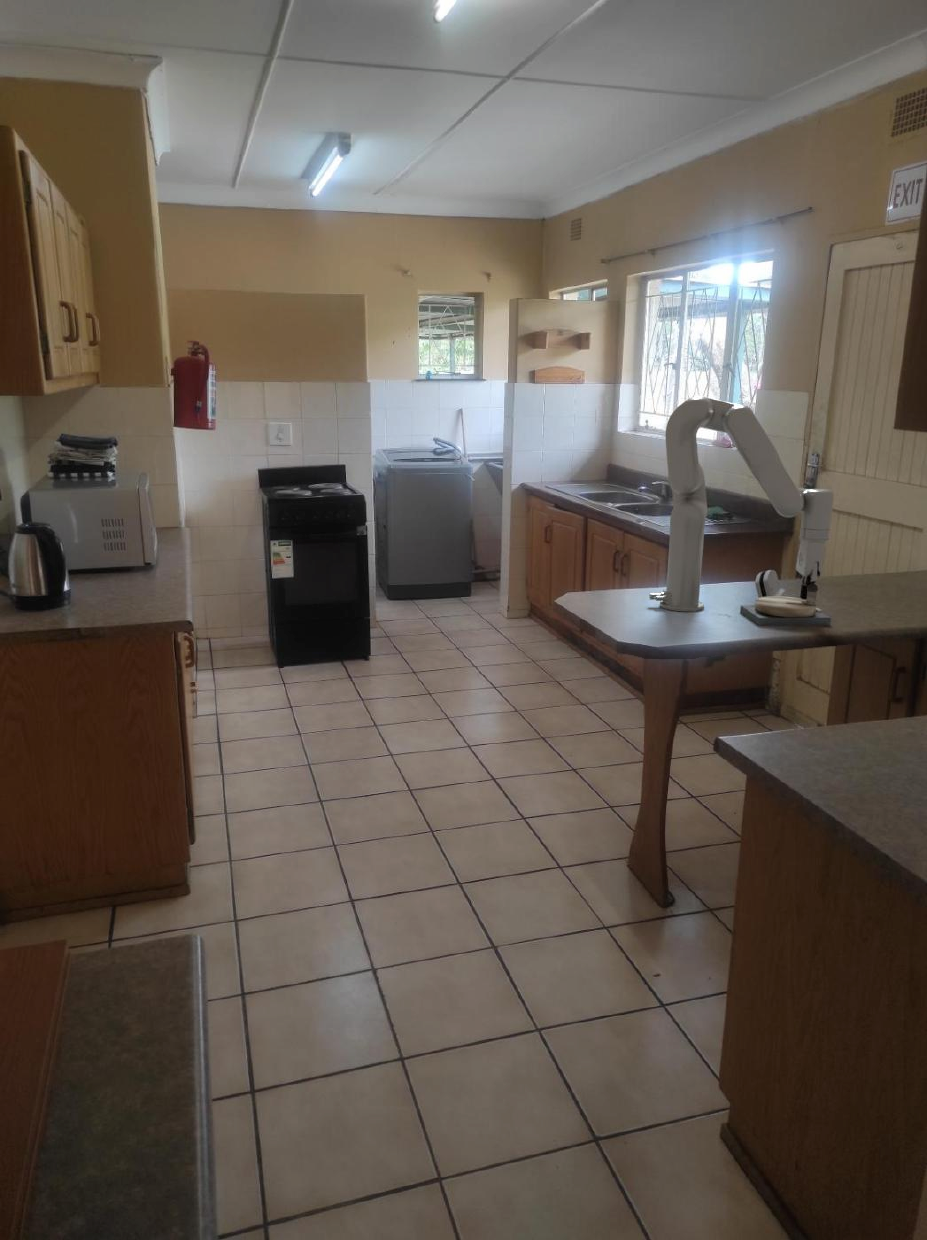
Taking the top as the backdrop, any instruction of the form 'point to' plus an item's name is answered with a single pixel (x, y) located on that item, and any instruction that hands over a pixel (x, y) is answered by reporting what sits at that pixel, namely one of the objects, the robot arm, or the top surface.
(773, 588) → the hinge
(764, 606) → the wheel
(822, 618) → the wheel base
